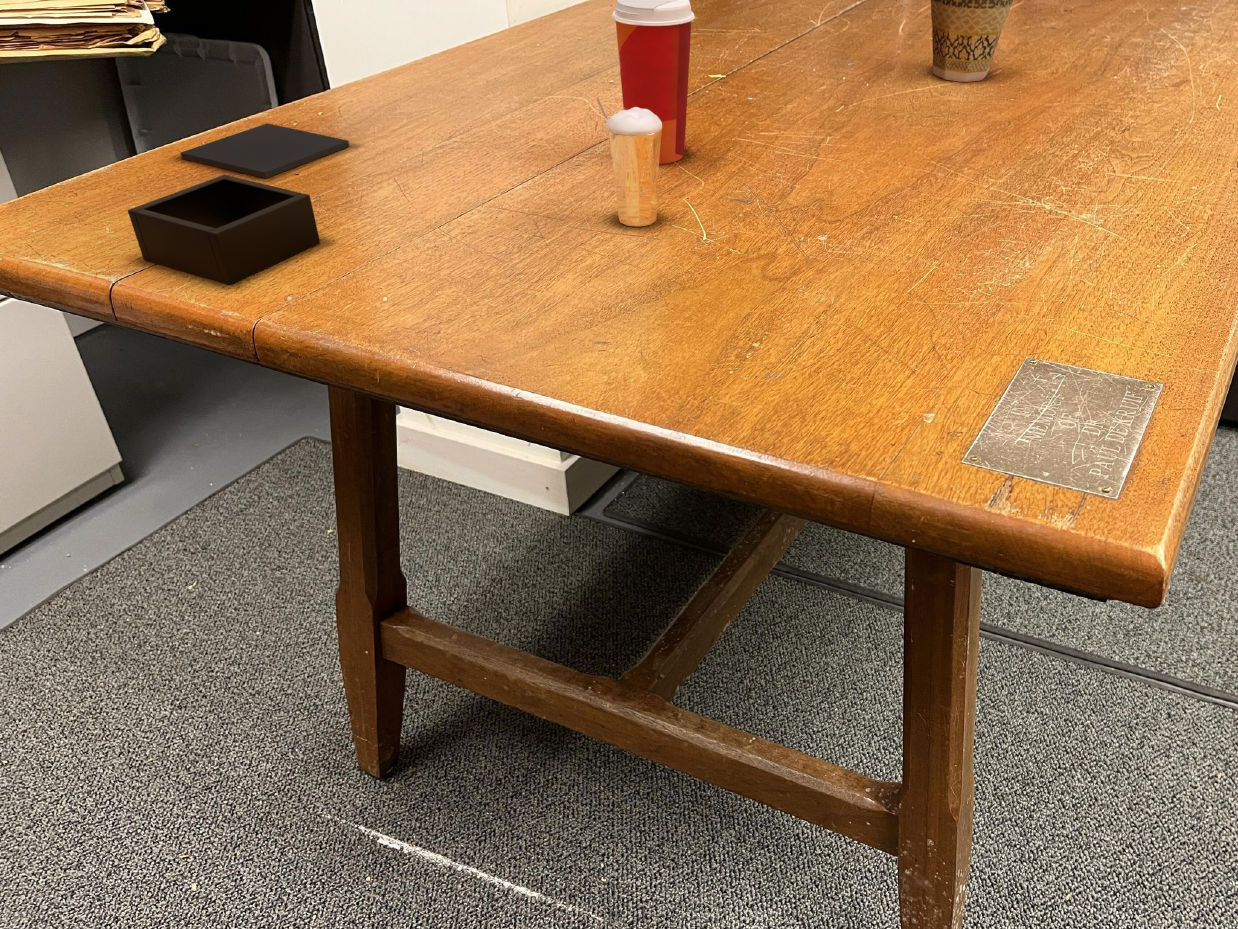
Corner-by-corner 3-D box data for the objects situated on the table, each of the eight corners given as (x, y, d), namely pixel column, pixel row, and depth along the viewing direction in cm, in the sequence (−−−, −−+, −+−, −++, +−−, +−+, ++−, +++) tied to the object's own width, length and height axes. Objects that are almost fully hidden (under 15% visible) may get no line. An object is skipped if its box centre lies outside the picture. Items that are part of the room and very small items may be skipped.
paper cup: (659, 137, 110) (656, -12, 101) (710, 156, 106) (712, 1, 97) (600, 153, 106) (592, -1, 97) (651, 173, 101) (648, 13, 93)
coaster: (181, 158, 102) (179, 152, 101) (268, 128, 110) (267, 122, 109) (265, 178, 98) (264, 172, 98) (349, 146, 106) (348, 140, 105)
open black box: (143, 259, 83) (126, 209, 81) (236, 221, 90) (224, 174, 87) (230, 285, 80) (215, 233, 77) (320, 243, 86) (309, 194, 84)
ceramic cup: (992, 89, 128) (1007, -3, 121) (911, 79, 130) (922, -11, 124) (1010, 64, 137) (1026, -22, 131) (935, 56, 140) (946, -29, 134)
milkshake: (608, 208, 94) (603, 89, 88) (667, 212, 93) (666, 93, 87) (596, 227, 90) (590, 105, 84) (658, 231, 90) (656, 109, 84)
